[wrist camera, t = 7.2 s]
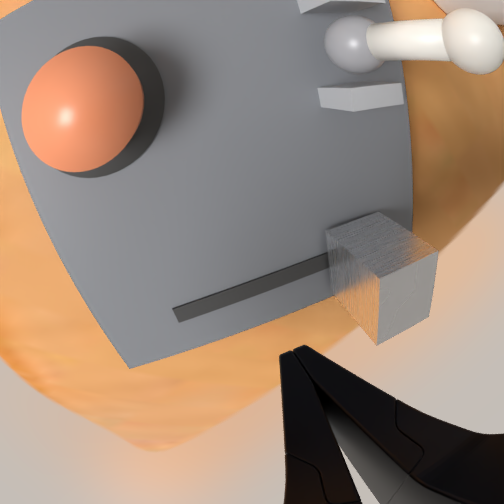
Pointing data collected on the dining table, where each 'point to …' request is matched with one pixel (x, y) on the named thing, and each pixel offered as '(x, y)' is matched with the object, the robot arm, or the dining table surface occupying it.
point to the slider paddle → (381, 274)
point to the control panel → (212, 161)
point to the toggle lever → (416, 42)
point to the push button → (82, 108)
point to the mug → (476, 7)
